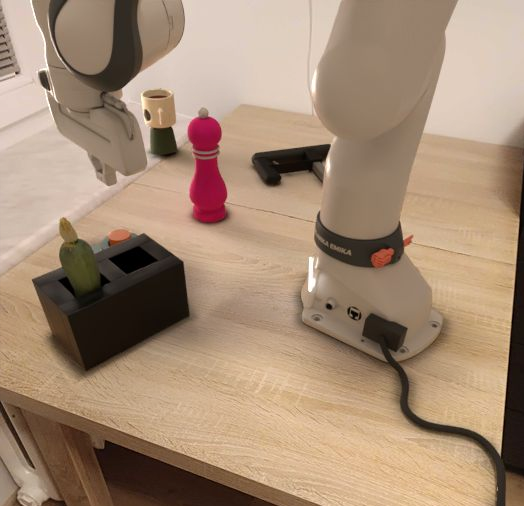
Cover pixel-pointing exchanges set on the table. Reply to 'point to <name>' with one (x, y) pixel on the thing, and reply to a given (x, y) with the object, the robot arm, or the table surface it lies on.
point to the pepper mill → (206, 169)
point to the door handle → (290, 161)
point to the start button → (118, 236)
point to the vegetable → (78, 261)
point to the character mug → (160, 120)
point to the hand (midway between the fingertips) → (107, 182)
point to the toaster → (116, 301)
